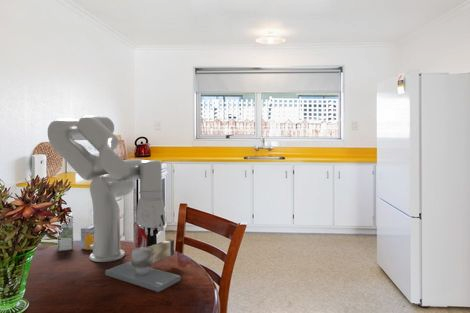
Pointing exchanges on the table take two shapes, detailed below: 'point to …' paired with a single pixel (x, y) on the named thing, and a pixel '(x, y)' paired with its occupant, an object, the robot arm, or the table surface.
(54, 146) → the robot arm
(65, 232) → the syrup box
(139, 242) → the soda can
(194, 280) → the table surface
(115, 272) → the mount plate
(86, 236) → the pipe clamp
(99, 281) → the table surface
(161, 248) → the lever handle
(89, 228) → the medicine box
